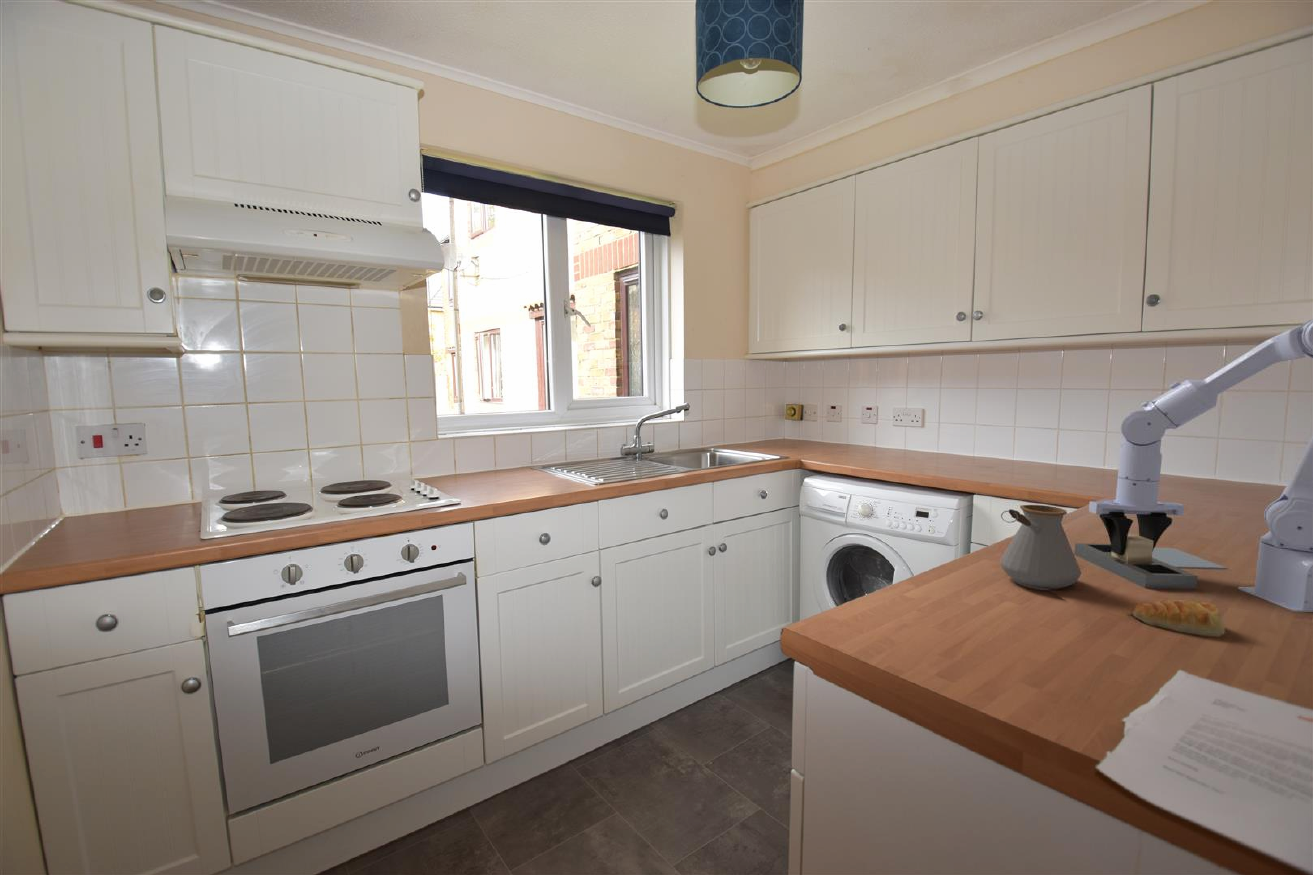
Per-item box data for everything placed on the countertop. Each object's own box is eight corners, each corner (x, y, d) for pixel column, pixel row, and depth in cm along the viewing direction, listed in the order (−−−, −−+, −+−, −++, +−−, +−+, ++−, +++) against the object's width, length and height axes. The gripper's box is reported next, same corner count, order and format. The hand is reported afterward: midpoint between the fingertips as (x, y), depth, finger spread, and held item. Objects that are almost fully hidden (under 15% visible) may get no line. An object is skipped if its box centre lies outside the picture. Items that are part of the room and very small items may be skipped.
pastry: (1142, 629, 82) (1144, 603, 81) (1124, 612, 88) (1127, 587, 88) (1229, 641, 78) (1232, 613, 78) (1204, 621, 85) (1207, 596, 84)
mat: (1226, 570, 106) (1226, 567, 106) (1156, 569, 106) (1156, 566, 106) (1172, 550, 118) (1172, 547, 117) (1109, 549, 118) (1110, 546, 118)
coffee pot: (1013, 567, 108) (1019, 486, 106) (1088, 584, 99) (1096, 497, 97) (963, 595, 94) (968, 503, 92) (1045, 618, 85) (1052, 517, 84)
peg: (1150, 574, 103) (1153, 540, 102) (1126, 573, 103) (1129, 540, 102) (1133, 566, 107) (1136, 534, 106) (1110, 566, 107) (1113, 534, 106)
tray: (1196, 591, 96) (1197, 575, 95) (1144, 590, 96) (1145, 574, 96) (1117, 557, 113) (1118, 544, 113) (1074, 556, 114) (1075, 543, 114)
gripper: (1163, 475, 106) (1156, 547, 108) (1080, 474, 107) (1074, 546, 109) (1196, 482, 99) (1188, 559, 101) (1107, 481, 100) (1100, 558, 102)
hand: (1131, 553), depth 104 cm, fingers closed on peg, 4 cm apart
